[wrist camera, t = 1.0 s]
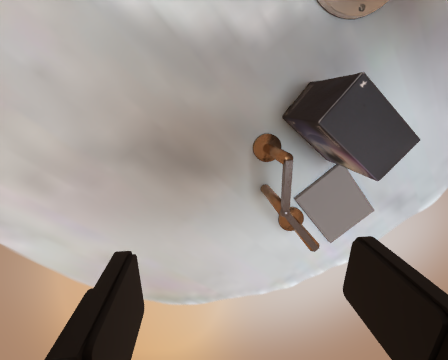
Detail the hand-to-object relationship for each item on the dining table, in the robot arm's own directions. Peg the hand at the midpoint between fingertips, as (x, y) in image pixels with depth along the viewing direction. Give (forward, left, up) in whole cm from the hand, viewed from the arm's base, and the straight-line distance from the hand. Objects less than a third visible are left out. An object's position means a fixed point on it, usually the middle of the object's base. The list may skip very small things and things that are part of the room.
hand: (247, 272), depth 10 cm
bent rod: (-5, +10, -24) cm, 26 cm away
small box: (-15, +7, -24) cm, 29 cm away
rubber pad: (-10, +19, -24) cm, 32 cm away
